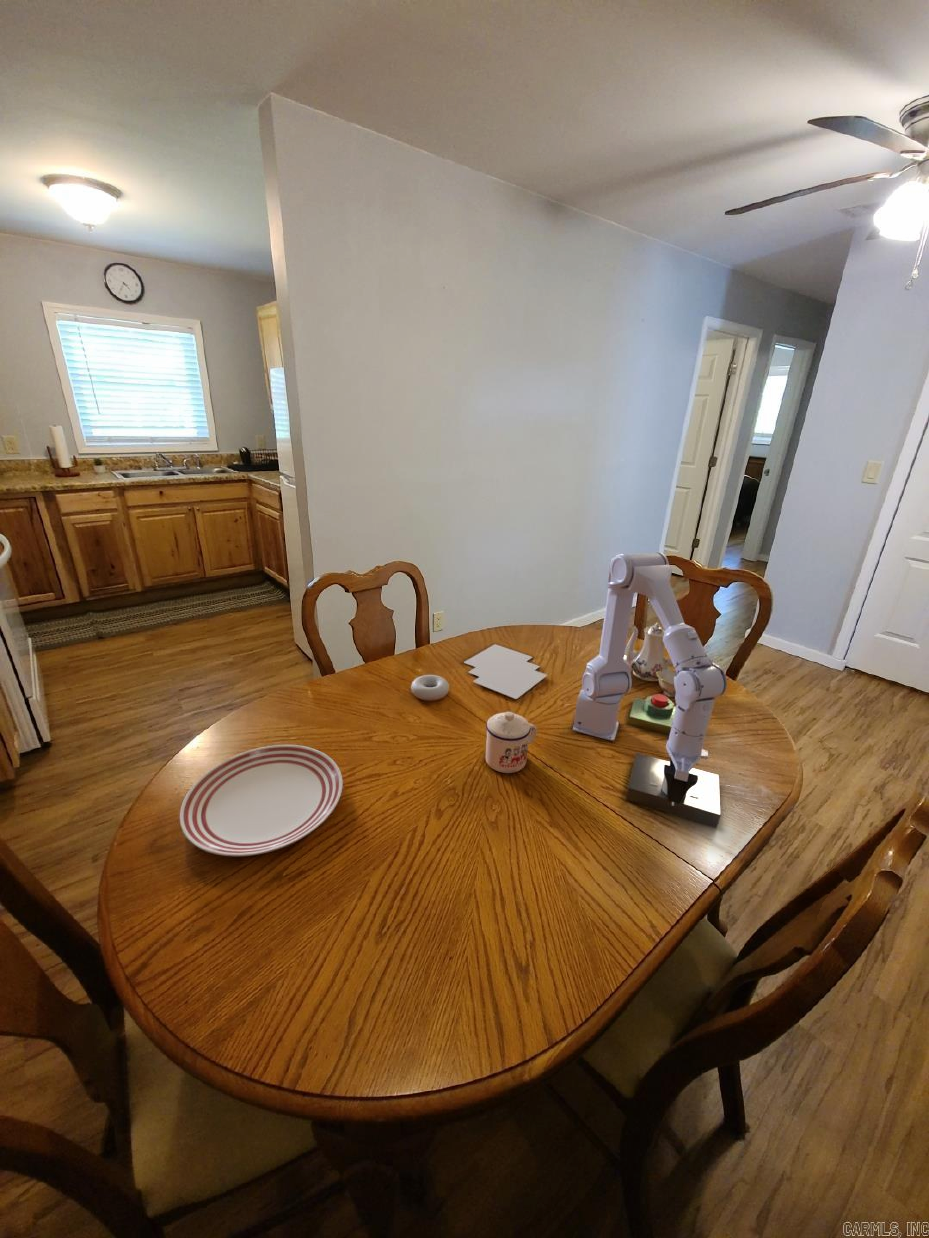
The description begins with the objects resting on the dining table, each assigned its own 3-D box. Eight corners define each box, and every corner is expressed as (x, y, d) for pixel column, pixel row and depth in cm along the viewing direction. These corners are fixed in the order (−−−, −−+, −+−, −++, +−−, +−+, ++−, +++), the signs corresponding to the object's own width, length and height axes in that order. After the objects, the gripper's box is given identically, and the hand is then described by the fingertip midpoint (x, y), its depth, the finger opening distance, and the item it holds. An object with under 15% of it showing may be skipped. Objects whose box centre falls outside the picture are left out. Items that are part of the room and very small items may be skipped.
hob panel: (624, 804, 95) (627, 791, 94) (633, 763, 106) (635, 751, 105) (717, 833, 89) (721, 819, 88) (715, 786, 100) (719, 774, 99)
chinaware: (585, 678, 144) (590, 627, 136) (606, 653, 156) (612, 605, 148) (688, 711, 129) (700, 656, 122) (702, 680, 141) (714, 628, 134)
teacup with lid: (499, 780, 100) (503, 731, 96) (476, 754, 107) (478, 708, 103) (546, 762, 106) (552, 715, 101) (521, 739, 113) (525, 694, 109)
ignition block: (628, 724, 120) (630, 709, 119) (633, 703, 129) (635, 690, 127) (681, 737, 116) (684, 723, 114) (683, 715, 124) (686, 701, 123)
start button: (650, 705, 122) (652, 699, 121) (652, 698, 125) (653, 692, 124) (666, 709, 120) (667, 702, 120) (667, 701, 123) (668, 695, 123)
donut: (434, 707, 124) (456, 690, 132) (434, 696, 123) (456, 679, 131) (403, 695, 129) (426, 679, 137) (402, 684, 128) (426, 668, 136)
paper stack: (445, 672, 141) (445, 670, 140) (494, 644, 159) (495, 642, 159) (516, 701, 128) (516, 699, 128) (561, 666, 146) (561, 664, 146)
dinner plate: (338, 857, 82) (337, 842, 80) (156, 876, 77) (151, 860, 76) (347, 752, 107) (346, 739, 105) (209, 762, 102) (207, 749, 101)
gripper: (714, 756, 82) (697, 820, 87) (713, 712, 94) (698, 771, 99) (668, 744, 84) (654, 807, 89) (673, 703, 96) (660, 761, 102)
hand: (674, 787), depth 94 cm, fingers open, 7 cm apart
